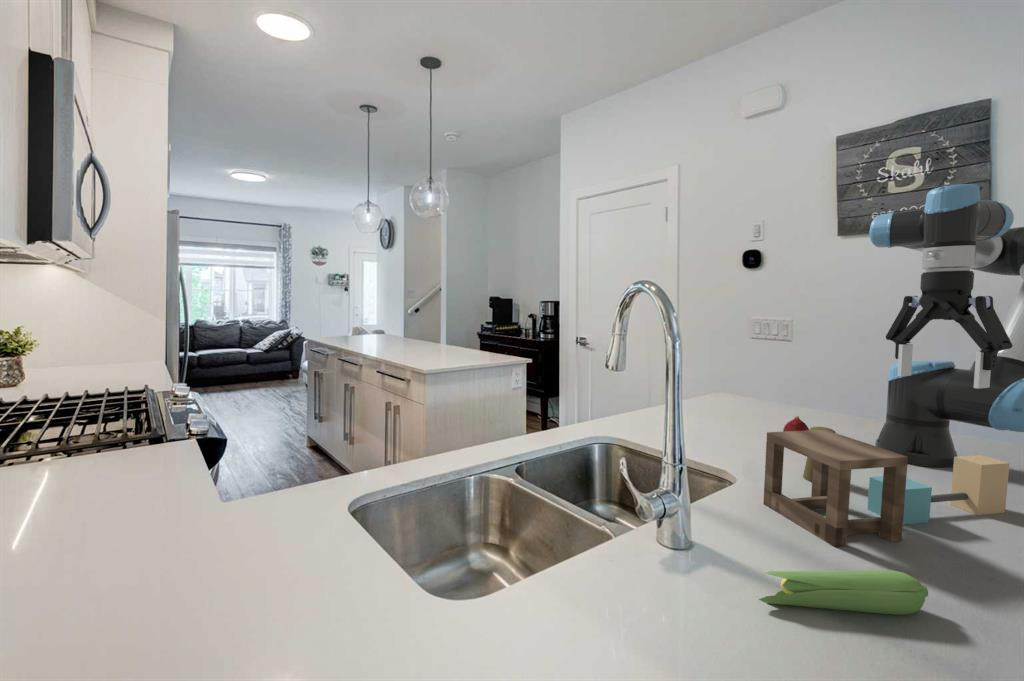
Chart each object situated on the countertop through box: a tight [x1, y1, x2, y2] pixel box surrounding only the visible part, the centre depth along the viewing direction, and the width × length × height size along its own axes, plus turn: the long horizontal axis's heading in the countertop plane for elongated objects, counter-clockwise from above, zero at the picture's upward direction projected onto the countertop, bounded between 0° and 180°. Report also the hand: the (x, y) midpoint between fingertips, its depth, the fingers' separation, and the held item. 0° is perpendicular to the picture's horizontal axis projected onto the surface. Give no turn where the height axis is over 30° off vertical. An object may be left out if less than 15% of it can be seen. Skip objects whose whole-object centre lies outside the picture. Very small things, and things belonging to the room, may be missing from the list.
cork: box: [802, 426, 837, 483], centre depth 102 cm, size 6×6×11 cm
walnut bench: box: [763, 430, 909, 548], centre depth 83 cm, size 12×16×13 cm
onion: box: [782, 415, 810, 432], centre depth 125 cm, size 6×6×8 cm
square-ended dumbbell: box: [867, 454, 1010, 525], centre depth 87 cm, size 23×6×9 cm, turn 100°
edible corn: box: [758, 569, 929, 616], centre depth 60 cm, size 5×20×5 cm
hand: (940, 381), depth 95 cm, fingers open, 13 cm apart
